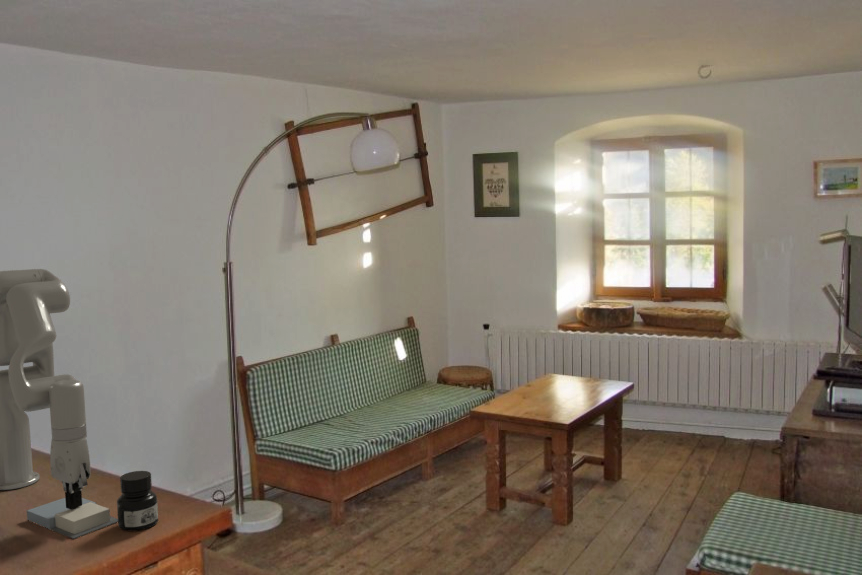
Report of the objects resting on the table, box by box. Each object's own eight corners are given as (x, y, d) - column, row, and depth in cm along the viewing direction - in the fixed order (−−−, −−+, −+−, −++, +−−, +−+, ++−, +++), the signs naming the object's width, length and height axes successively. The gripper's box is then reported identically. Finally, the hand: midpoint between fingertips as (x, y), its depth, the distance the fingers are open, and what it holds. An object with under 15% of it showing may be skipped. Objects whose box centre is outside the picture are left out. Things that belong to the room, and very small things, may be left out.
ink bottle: (128, 536, 176) (125, 485, 175) (109, 526, 182) (106, 477, 181) (167, 522, 184) (164, 473, 182) (147, 513, 189) (145, 466, 188)
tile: (55, 526, 182) (54, 514, 181) (91, 513, 189) (90, 502, 189) (74, 534, 177) (73, 521, 177) (110, 520, 184) (109, 508, 184)
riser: (27, 520, 186) (26, 510, 186) (74, 504, 196) (73, 494, 196) (49, 529, 181) (49, 519, 180) (96, 512, 190) (96, 502, 190)
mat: (50, 529, 180) (50, 528, 180) (97, 512, 190) (97, 511, 190) (73, 539, 175) (73, 538, 175) (121, 521, 185) (120, 520, 185)
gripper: (36, 431, 184) (42, 505, 186) (71, 441, 176) (77, 519, 178) (66, 424, 190) (71, 495, 192) (102, 433, 182) (106, 508, 184)
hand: (74, 506), depth 185 cm, fingers closed
